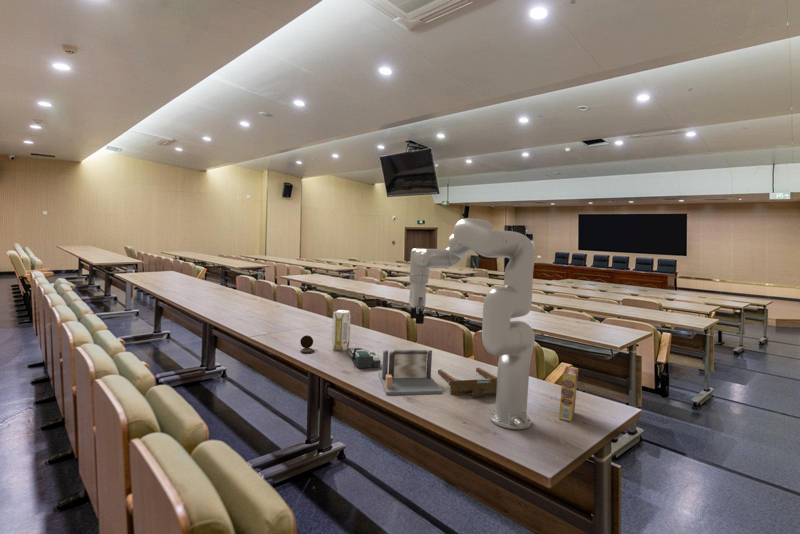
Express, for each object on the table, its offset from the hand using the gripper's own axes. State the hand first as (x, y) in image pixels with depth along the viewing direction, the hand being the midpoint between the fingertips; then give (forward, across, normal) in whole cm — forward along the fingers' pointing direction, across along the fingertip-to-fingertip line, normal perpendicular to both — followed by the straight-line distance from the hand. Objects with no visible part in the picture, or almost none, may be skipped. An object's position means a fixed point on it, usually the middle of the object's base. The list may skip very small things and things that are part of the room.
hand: (416, 320), depth 164 cm
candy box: (+22, +41, +43) cm, 63 cm away
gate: (+21, +5, -4) cm, 22 cm away
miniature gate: (+24, +11, +22) cm, 34 cm away
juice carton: (+24, -43, -28) cm, 57 cm away
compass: (+24, -38, -44) cm, 63 cm away
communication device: (+24, -23, -19) cm, 38 cm away
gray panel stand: (+23, +8, -4) cm, 25 cm away
